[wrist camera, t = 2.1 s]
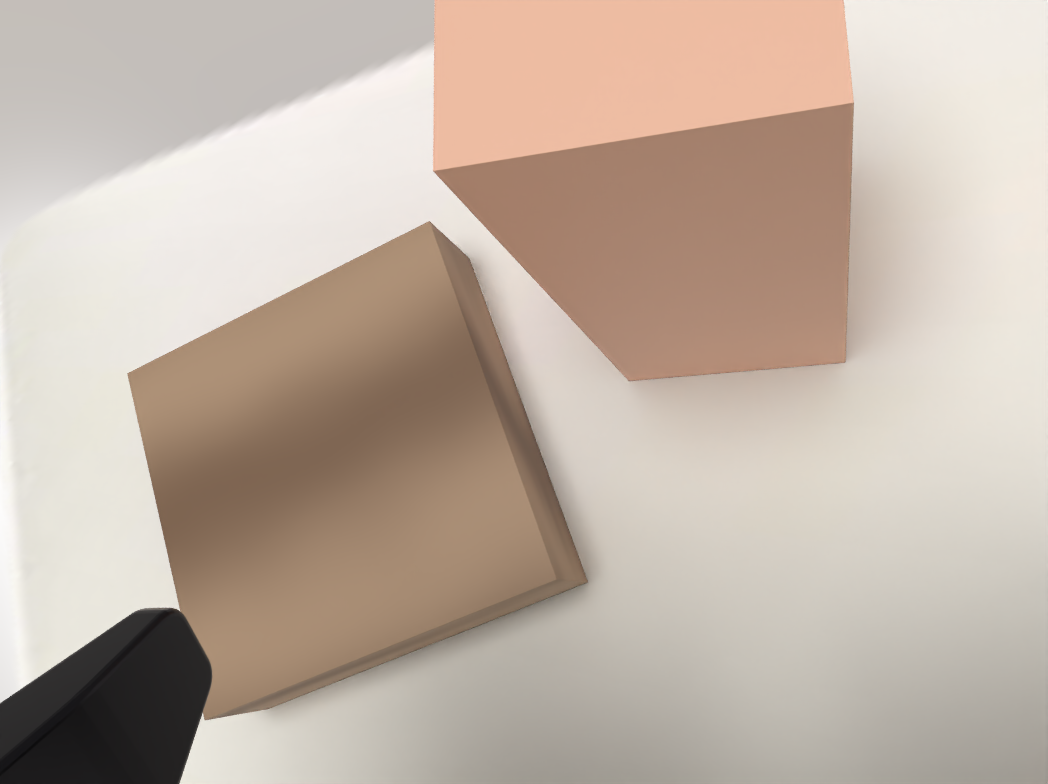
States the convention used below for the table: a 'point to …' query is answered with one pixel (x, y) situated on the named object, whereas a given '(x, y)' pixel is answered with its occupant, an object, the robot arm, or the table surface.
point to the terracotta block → (661, 169)
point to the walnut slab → (348, 476)
